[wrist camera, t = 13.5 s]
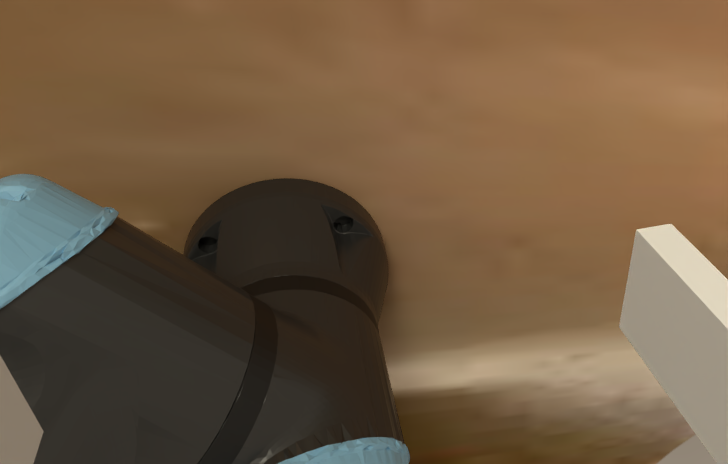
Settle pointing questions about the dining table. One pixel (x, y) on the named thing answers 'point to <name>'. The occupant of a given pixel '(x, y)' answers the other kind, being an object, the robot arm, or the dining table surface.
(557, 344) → the dining table surface
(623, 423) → the dining table surface
